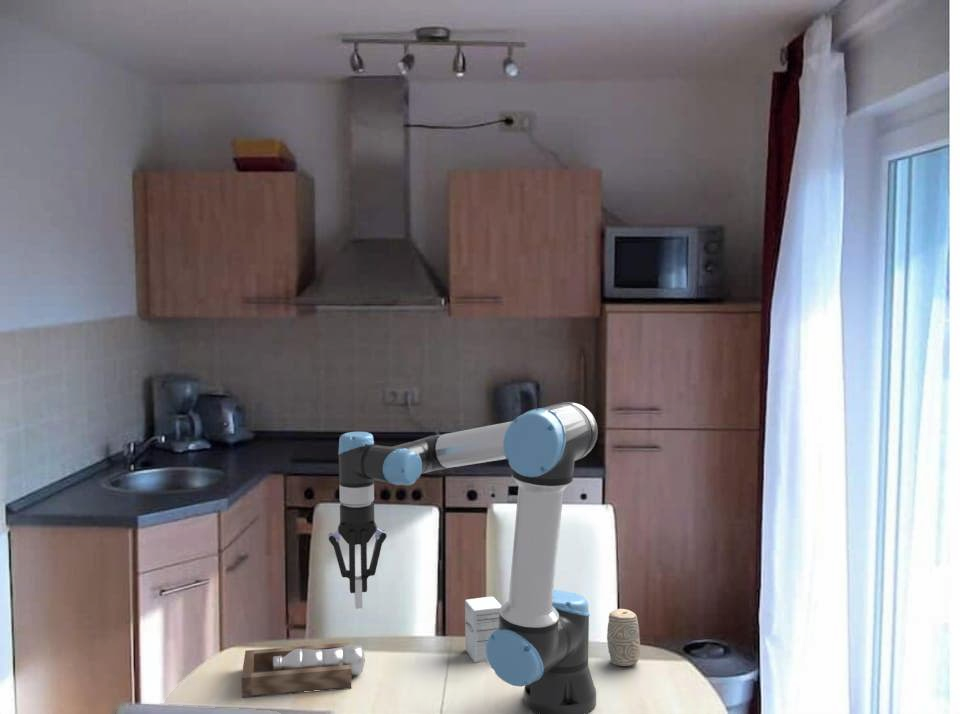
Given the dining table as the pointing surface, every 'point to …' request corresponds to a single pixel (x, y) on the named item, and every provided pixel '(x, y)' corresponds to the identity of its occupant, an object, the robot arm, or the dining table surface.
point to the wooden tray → (289, 674)
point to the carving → (623, 637)
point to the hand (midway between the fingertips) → (358, 606)
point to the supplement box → (480, 625)
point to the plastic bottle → (322, 659)
